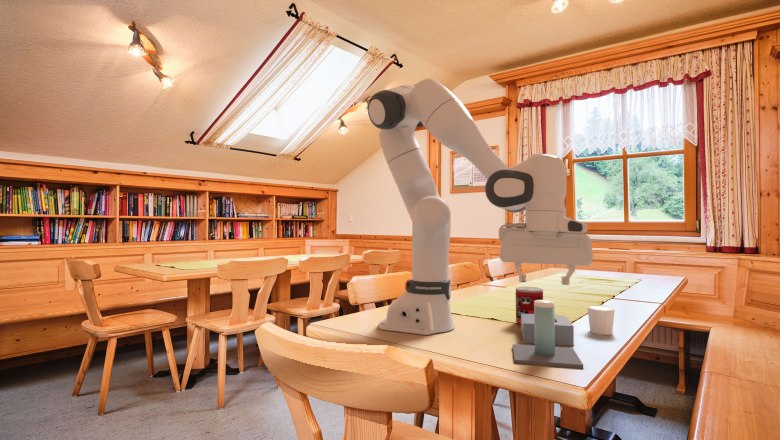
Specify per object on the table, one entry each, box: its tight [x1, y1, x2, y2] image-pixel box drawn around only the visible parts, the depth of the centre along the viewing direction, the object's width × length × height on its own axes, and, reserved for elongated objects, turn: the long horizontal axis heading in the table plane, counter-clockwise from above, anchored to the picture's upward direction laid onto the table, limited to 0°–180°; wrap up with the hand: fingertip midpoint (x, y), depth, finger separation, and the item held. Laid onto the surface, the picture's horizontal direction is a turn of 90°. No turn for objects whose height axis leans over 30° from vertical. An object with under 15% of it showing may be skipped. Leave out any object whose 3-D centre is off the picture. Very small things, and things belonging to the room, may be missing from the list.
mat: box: [512, 343, 584, 370], centre depth 95 cm, size 14×12×1 cm
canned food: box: [515, 286, 544, 326], centre depth 126 cm, size 8×8×11 cm
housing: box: [520, 314, 575, 347], centre depth 111 cm, size 12×12×5 cm
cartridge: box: [534, 299, 556, 357], centre depth 95 cm, size 4×4×12 cm
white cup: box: [587, 305, 615, 336], centre depth 117 cm, size 7×7×7 cm
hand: (543, 283), depth 95 cm, fingers open, 8 cm apart
